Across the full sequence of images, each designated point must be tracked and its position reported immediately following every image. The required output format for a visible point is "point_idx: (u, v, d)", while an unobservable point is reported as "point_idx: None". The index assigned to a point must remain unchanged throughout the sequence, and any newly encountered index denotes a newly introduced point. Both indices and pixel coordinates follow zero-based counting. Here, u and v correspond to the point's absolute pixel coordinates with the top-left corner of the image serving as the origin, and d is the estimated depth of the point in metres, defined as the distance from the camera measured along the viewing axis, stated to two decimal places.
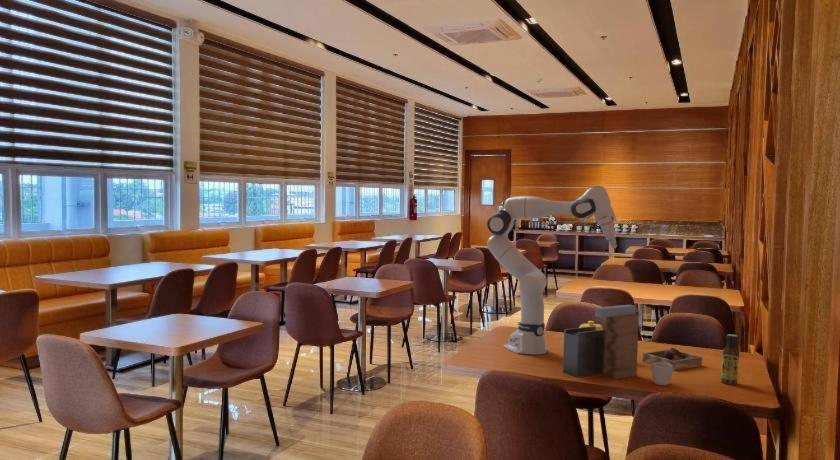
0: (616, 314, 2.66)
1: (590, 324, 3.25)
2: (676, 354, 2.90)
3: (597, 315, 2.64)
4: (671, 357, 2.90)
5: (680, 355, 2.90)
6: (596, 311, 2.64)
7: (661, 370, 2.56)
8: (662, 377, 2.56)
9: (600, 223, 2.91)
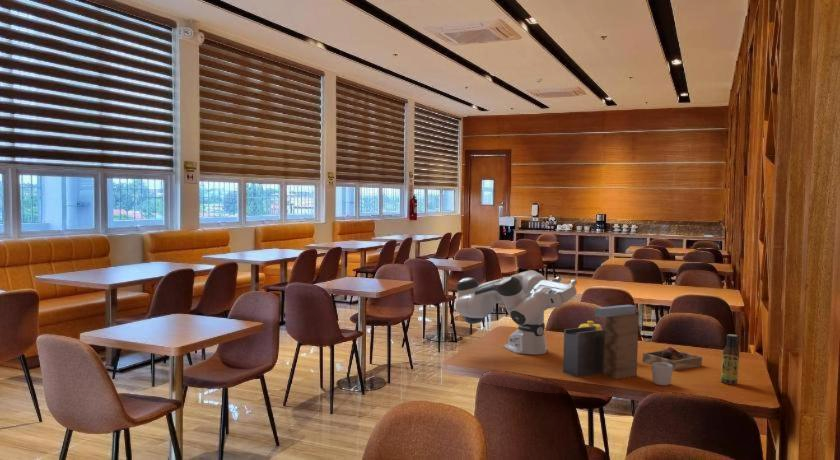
0: (616, 314, 2.66)
1: (590, 324, 3.25)
2: (674, 353, 2.91)
3: (597, 315, 2.64)
4: (669, 356, 2.91)
5: (678, 354, 2.91)
6: (596, 311, 2.64)
7: (661, 370, 2.56)
8: (662, 377, 2.56)
9: (562, 303, 2.56)
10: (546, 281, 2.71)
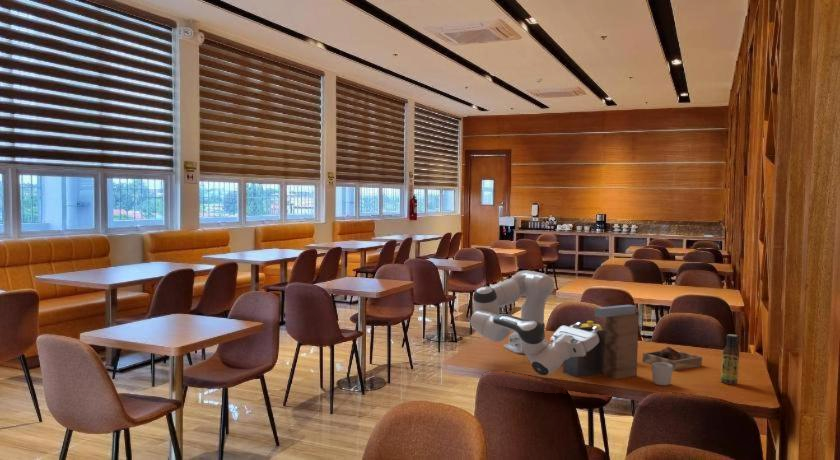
0: (616, 314, 2.66)
1: (589, 324, 3.26)
2: (672, 353, 2.92)
3: (597, 315, 2.64)
4: (667, 356, 2.92)
5: (676, 354, 2.92)
6: (596, 311, 2.64)
7: (661, 370, 2.56)
8: (662, 377, 2.56)
9: (585, 353, 2.48)
10: (566, 327, 2.63)
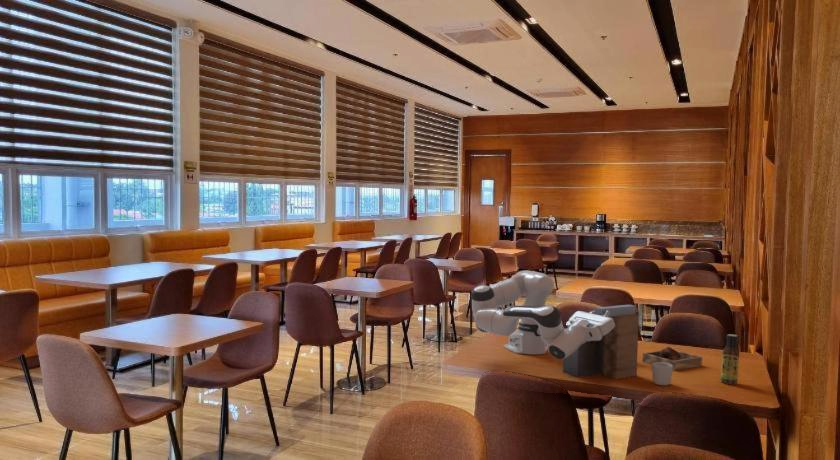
0: (616, 314, 2.66)
1: None
2: (672, 353, 2.92)
3: None
4: (667, 356, 2.92)
5: (676, 354, 2.92)
6: (596, 311, 2.64)
7: (661, 370, 2.56)
8: (662, 377, 2.56)
9: (601, 337, 2.53)
10: (582, 312, 2.67)
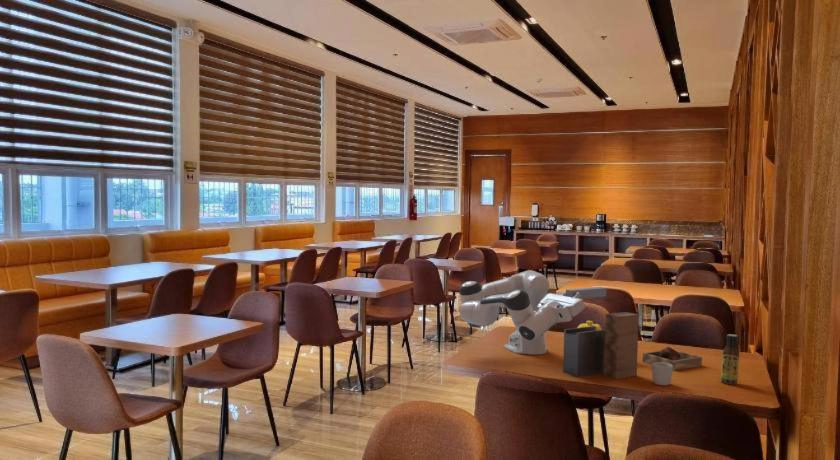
0: (587, 296, 2.68)
1: (589, 324, 3.26)
2: (672, 353, 2.92)
3: None
4: (667, 356, 2.92)
5: (676, 354, 2.92)
6: (567, 293, 2.66)
7: (661, 370, 2.56)
8: (662, 377, 2.56)
9: (570, 318, 2.55)
10: (553, 295, 2.69)
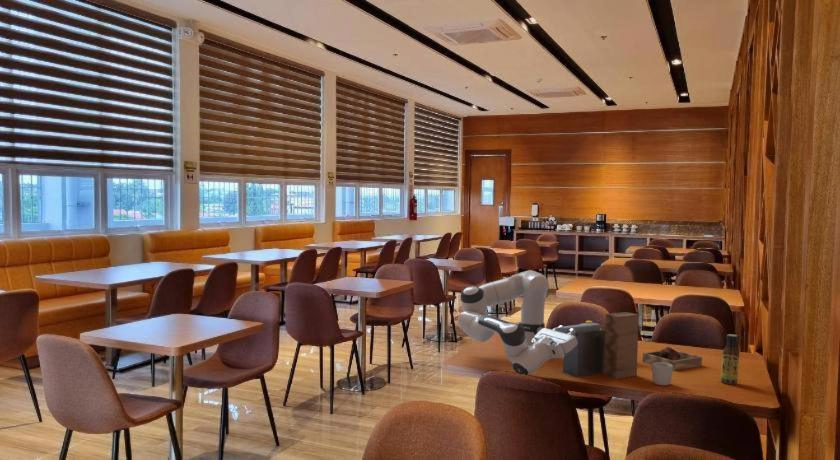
0: None
1: None
2: (671, 353, 2.92)
3: None
4: (666, 356, 2.92)
5: (675, 354, 2.92)
6: (560, 330, 2.69)
7: (661, 370, 2.56)
8: (662, 377, 2.56)
9: (563, 354, 2.58)
10: (547, 330, 2.72)
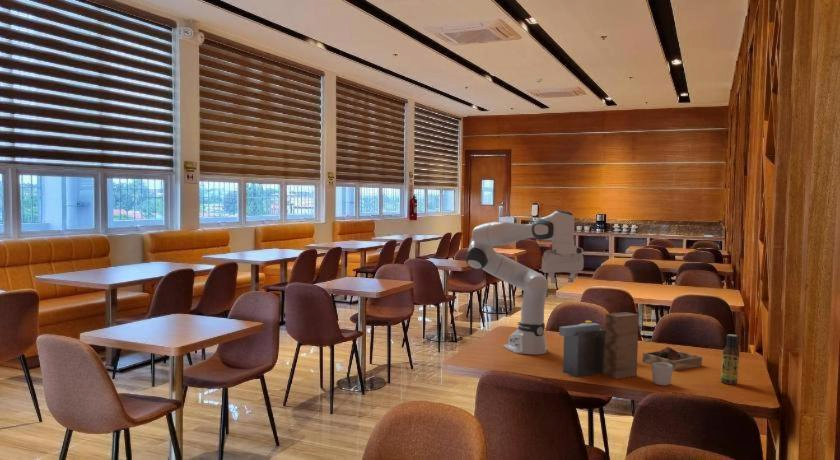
0: None
1: None
2: (671, 353, 2.92)
3: (561, 334, 2.68)
4: (666, 356, 2.92)
5: (675, 354, 2.91)
6: (560, 330, 2.69)
7: (661, 370, 2.56)
8: (662, 377, 2.56)
9: None
10: None
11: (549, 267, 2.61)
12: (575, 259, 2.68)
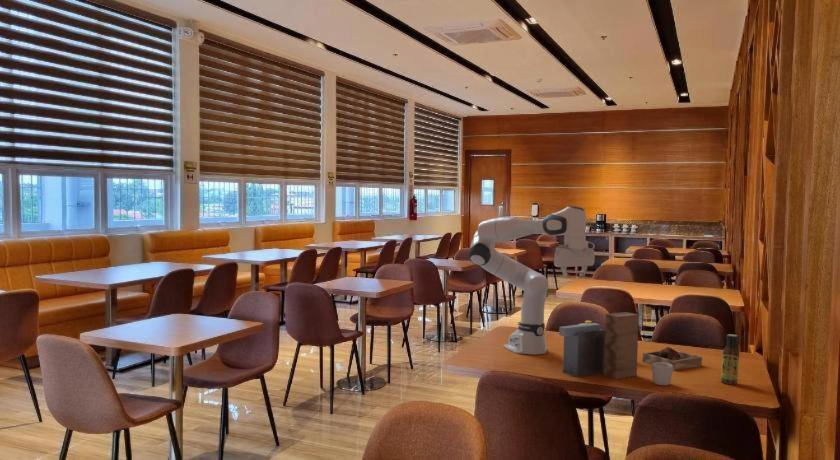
0: None
1: None
2: (671, 353, 2.92)
3: (561, 334, 2.68)
4: (666, 356, 2.92)
5: (675, 354, 2.91)
6: (560, 330, 2.69)
7: (661, 370, 2.56)
8: (662, 377, 2.56)
9: None
10: None
11: (561, 261, 2.66)
12: (587, 254, 2.74)
